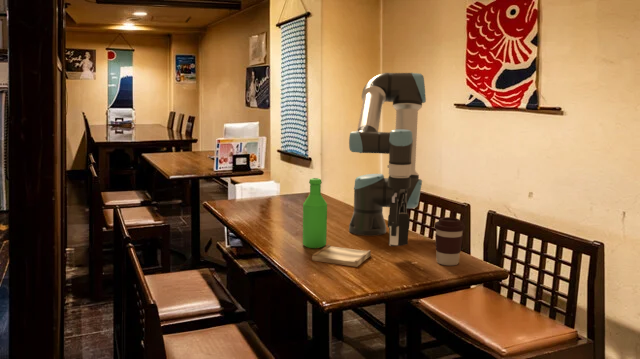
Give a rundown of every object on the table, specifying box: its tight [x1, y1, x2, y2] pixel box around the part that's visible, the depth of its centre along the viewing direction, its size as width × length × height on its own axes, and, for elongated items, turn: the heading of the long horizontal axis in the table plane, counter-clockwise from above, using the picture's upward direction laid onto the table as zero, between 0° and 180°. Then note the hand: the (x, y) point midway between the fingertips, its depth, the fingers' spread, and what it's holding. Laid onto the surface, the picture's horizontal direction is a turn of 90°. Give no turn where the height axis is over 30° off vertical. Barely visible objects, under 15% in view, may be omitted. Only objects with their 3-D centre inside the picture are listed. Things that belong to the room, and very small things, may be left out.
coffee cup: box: [433, 216, 466, 267], centre depth 193 cm, size 10×10×15 cm
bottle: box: [302, 177, 328, 249], centre depth 210 cm, size 9×9×25 cm
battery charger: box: [387, 212, 410, 247], centre depth 197 cm, size 7×4×11 cm, turn 110°
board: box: [311, 244, 372, 268], centre depth 197 cm, size 14×16×2 cm
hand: (397, 241), depth 198 cm, fingers closed on battery charger, 7 cm apart
